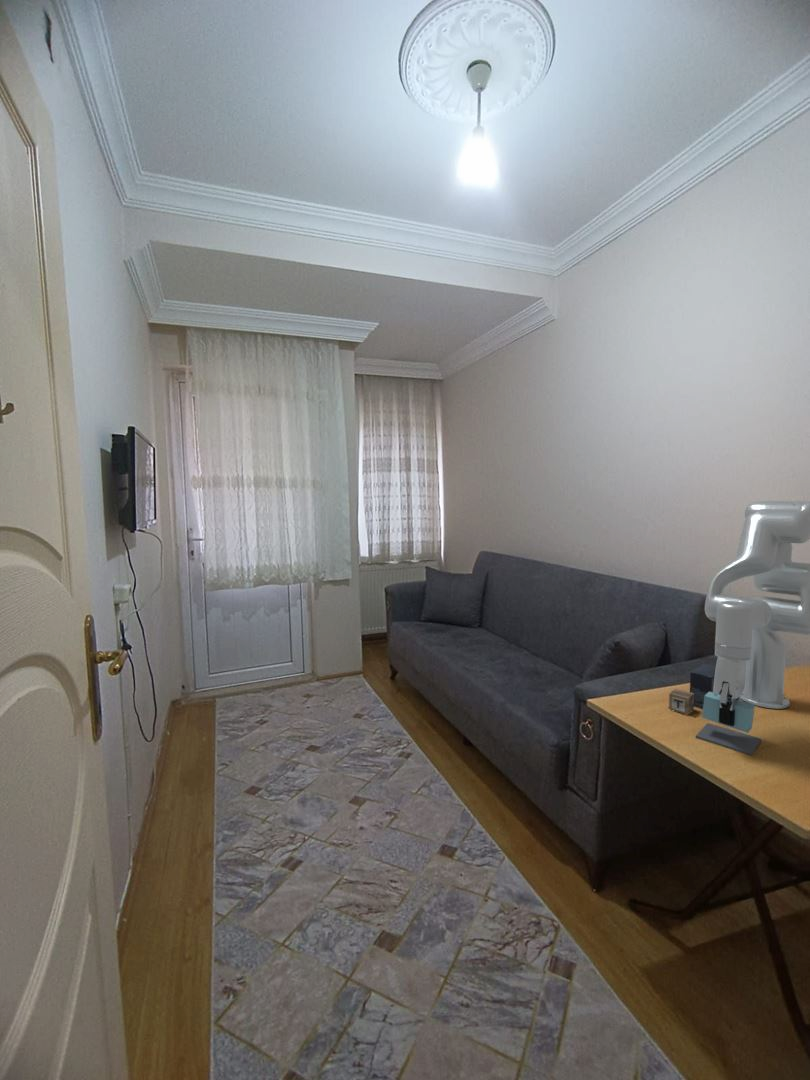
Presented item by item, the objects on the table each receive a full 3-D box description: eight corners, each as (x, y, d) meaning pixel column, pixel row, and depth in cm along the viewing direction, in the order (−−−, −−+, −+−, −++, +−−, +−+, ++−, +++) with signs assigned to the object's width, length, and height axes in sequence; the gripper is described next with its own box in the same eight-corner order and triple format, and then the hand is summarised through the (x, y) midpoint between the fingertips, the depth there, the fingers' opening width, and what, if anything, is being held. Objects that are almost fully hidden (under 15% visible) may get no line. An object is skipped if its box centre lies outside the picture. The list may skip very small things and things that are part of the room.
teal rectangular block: (706, 712, 127) (709, 691, 126) (752, 727, 120) (754, 705, 119) (701, 717, 124) (704, 695, 124) (748, 733, 117) (751, 709, 116)
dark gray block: (707, 724, 130) (707, 722, 130) (761, 740, 121) (761, 738, 121) (695, 737, 123) (695, 735, 123) (752, 755, 115) (752, 753, 115)
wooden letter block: (674, 704, 143) (675, 688, 142) (693, 709, 139) (694, 693, 139) (668, 710, 139) (668, 693, 139) (687, 716, 136) (688, 699, 135)
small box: (703, 695, 149) (704, 662, 148) (726, 702, 144) (728, 668, 143) (687, 704, 143) (689, 670, 142) (711, 712, 137) (713, 676, 136)
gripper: (724, 640, 129) (721, 706, 130) (705, 655, 117) (702, 726, 119) (758, 647, 123) (754, 715, 125) (742, 662, 112) (737, 737, 113)
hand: (728, 720), depth 122 cm, fingers closed on teal rectangular block, 4 cm apart
